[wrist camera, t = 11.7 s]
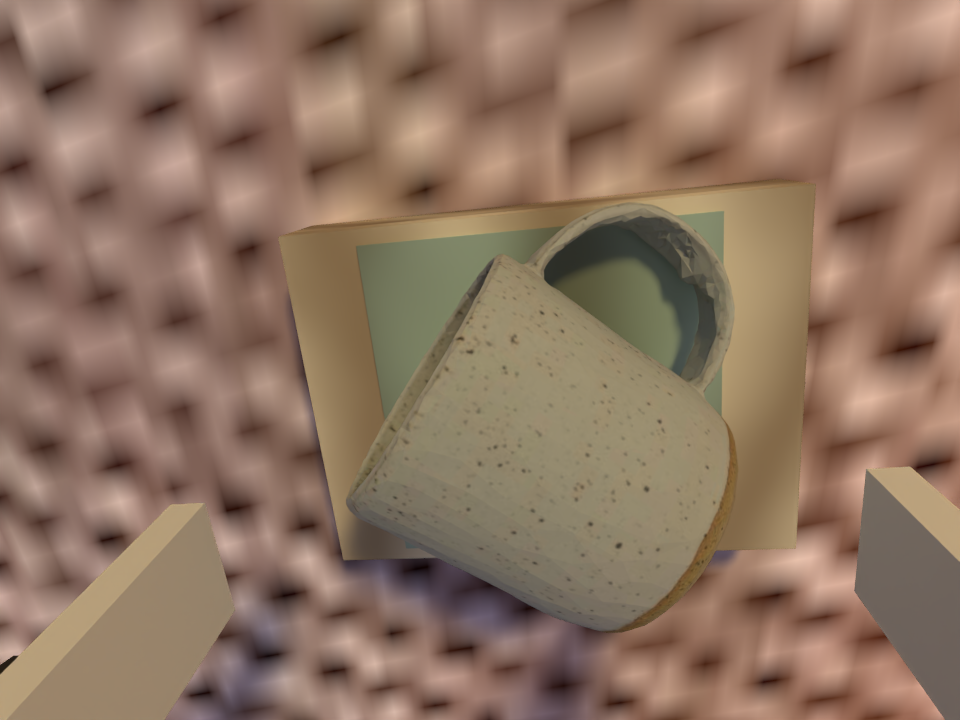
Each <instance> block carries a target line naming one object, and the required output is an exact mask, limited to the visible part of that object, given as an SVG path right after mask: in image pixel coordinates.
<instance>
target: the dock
mask: <svg viewBox="0 0 960 720" xmlns="http://www.w3.org/2000/svg"><path fill="white" fill-rule="evenodd" d="M815 189H816V184H812V183H805V182H798V181H790V180H783V179H775V180H765V181H755V182H745V183H735V184H725V185H715V186H705V187H695V188H685V189H675V190H665V191H655V192H645V193H635V194H625V195H615V196H605V197H595V198H585V199H575V200H565V201H555V202H545V203H535V204H525V205H515V206H505V207H495V208H485V209H475V210H465V211H455V212H445V213H435V214H425V215H415V216H405V217H395V218H386V219H376V220H366V221H356V222H346V223H336V224H326V225H316V226H310V227H307V228H304V229H301V230H298V231H295V232H292V233H289V234H286V235H283V236H280V237H278V239H279V244H280V249H281V254H282V259H283V264H284V269H285V273H286V278H287V283H288V288H289V293H290V298H291V303H292V308H293V313H294V318H295V323H296V328H297V333H298V338H299V343H300V348H301V353H302V358H303V363H304V368H305V372H306V377H307V382H308V387H309V392H310V397H311V402H312V407H313V412H314V417H315V422H316V427H317V432H318V437H319V442H320V447H321V452H322V457H323V462H324V467H325V472H326V476H327V481H328V486H329V491H330V496H331V501H332V506H333V511H334V516H335V521H336V526H337V531H338V536H339V541H340V546H341V551H342V556H343V560H373V559H411V558H437V557H435V556H433V555H431V554H429V553H427V552H425V551H423V550H421V549H419V548H418V547H416V546H414V545H412V544H410V543H408V542H406V541H404V540H402V539H400V538H398V537H396V536H394V535H393V534H391V533H389V532H387V531H384V530H382V529H380V528H378V527H376V526H374V525H372V524H370V523H367V522H365V521H363V520H361V519H359V518H357V517H356V516H355V515H354V514H353V513H352V512H351V511H350V510H349V508H348V507H347V505H346V498H347V496H348V494H349V491H350V488H351V486H352V484H353V482H354V480H355V478H356V475H357V473H358V471H359V469H360V467H361V466H362V463H363V460H364V459H365V458H366V456H367V454H368V451H369V449H370V447H371V445H372V444H373V442H374V441H375V439H376V437H377V435H378V433H379V431H380V429H381V426H382V425H383V423H384V421H385V420H386V418H387V417H388V415H389V414H390V412H391V410H392V408H393V407H394V405H395V403H396V401H397V400H398V398H399V396H400V395H401V393H402V392H403V390H404V389H405V387H406V385H407V383H408V382H409V380H410V378H411V377H412V375H413V373H414V371H415V370H416V369H417V367H418V366H419V364H420V362H421V360H422V358H423V357H424V355H425V354H426V353H427V351H428V350H429V348H430V346H431V345H432V343H433V342H434V340H435V338H436V337H437V335H438V334H439V332H440V330H441V329H442V327H443V326H444V324H445V323H446V321H447V320H448V319H449V318H450V316H451V315H452V313H453V312H454V310H455V309H456V307H457V306H458V304H459V302H460V300H461V299H462V297H463V296H464V294H465V293H466V292H467V290H468V289H469V288H470V286H471V285H472V283H473V282H474V281H475V280H476V278H477V277H478V275H479V274H480V272H481V271H482V270H483V269H484V268H485V267H486V265H487V264H488V262H490V261H491V260H492V259H493V258H494V257H495V256H496V255H500V254H504V255H507V256H510V257H511V258H513V259H514V260H516V261H517V262H519V263H520V264H525V263H526V262H527V260H528V259H529V258H530V257H531V255H532V254H534V253H535V252H536V251H537V250H538V249H539V248H540V247H541V246H542V245H544V244H545V243H546V242H547V241H548V240H549V239H550V238H551V237H553V236H554V235H555V234H556V233H557V232H559V231H560V230H561V229H563V228H564V227H565V226H567V225H568V224H569V223H570V222H572V221H573V220H575V219H577V218H579V217H581V216H583V215H585V214H587V213H589V212H591V211H593V210H596V209H599V208H603V207H606V206H610V205H615V204H620V203H627V202H632V203H643V204H651V205H655V206H658V207H660V208H662V209H664V210H666V211H668V212H670V213H672V214H674V215H676V216H678V217H679V218H681V219H682V220H683V221H684V222H686V223H687V224H688V225H689V226H691V227H692V228H693V229H694V230H696V231H697V232H698V233H699V234H700V235H701V236H702V237H703V238H704V239H705V240H706V241H707V242H708V243H709V245H710V246H711V247H712V249H713V250H714V251H715V253H716V254H717V256H718V257H719V259H720V261H721V262H722V264H723V265H724V268H725V270H726V273H727V276H728V279H729V282H730V285H731V290H732V295H733V301H734V307H735V314H734V323H733V329H732V335H731V341H730V345H729V347H728V350H727V352H726V354H725V357H724V360H723V364H722V366H721V367H720V369H719V370H718V372H717V373H716V376H715V378H714V380H713V381H712V383H711V384H710V385H709V386H708V387H707V388H706V390H705V393H704V395H705V399H706V401H707V402H708V403H709V404H710V405H711V406H712V407H713V408H714V409H715V410H716V411H717V412H718V413H719V414H720V416H721V417H722V418H723V419H724V420H725V421H726V423H727V424H728V426H729V428H730V430H731V431H732V434H733V437H734V440H735V446H736V453H737V460H738V468H739V470H738V479H737V488H736V498H735V503H734V507H733V510H732V513H731V517H730V520H729V523H728V525H727V528H726V530H725V532H724V535H723V537H722V539H721V541H720V543H719V545H718V547H717V549H716V551H718V550H757V549H795V548H796V536H797V518H798V499H799V481H800V463H801V445H802V426H803V408H804V390H805V372H806V353H807V335H808V317H809V299H810V280H811V262H812V244H813V226H814V207H815ZM544 280H545V281H546V282H547V283H548V284H549V285H550V286H552V287H554V288H555V289H557V290H559V291H560V292H562V293H563V294H564V295H565V296H567V297H568V298H569V299H571V300H572V301H574V302H575V303H576V304H578V305H579V306H580V307H582V308H583V309H584V310H585V311H587V312H588V313H590V314H591V315H592V316H594V317H595V318H596V319H598V320H599V321H601V322H602V323H604V324H605V325H606V326H607V327H609V328H610V329H611V330H613V331H614V332H615V333H617V334H618V335H619V336H621V337H622V338H623V339H625V340H626V341H627V342H628V343H630V344H631V345H633V346H634V347H636V348H637V349H638V350H640V351H641V352H643V353H645V354H647V355H648V356H650V357H652V358H653V359H655V360H656V361H658V362H659V363H661V364H663V365H664V366H665V367H667V368H668V369H670V370H671V371H673V372H674V373H675V374H677V375H678V376H679V375H680V374H681V372H682V370H683V368H684V366H685V365H686V362H687V360H688V357H689V355H690V352H691V350H692V348H693V346H694V339H695V335H696V332H697V330H698V323H699V311H698V300H697V295H696V292H695V289H694V286H693V284H687V283H685V282H683V281H682V280H680V278H679V276H678V273H677V271H676V269H675V268H674V267H673V266H672V265H671V264H670V263H669V262H668V260H667V259H666V258H665V257H664V256H662V255H661V254H660V253H658V252H657V251H656V250H655V249H653V248H652V247H651V246H650V245H649V244H647V243H646V242H645V241H644V240H643V239H641V238H640V237H639V236H638V235H637V234H635V233H634V232H632V231H631V230H627V229H622V228H620V227H618V226H615V225H610V226H601V227H597V228H594V229H592V230H588V231H586V232H585V233H583V234H582V235H581V236H579V237H578V238H576V239H575V240H573V241H572V242H571V243H569V244H568V245H566V246H565V247H564V248H563V249H562V250H560V251H559V252H558V253H557V254H556V255H555V256H554V257H553V258H552V259H551V260H550V261H549V262H548V264H547V265H546V267H545V269H544Z"/></svg>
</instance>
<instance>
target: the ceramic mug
mask: <svg viewBox="0 0 960 720" xmlns="http://www.w3.org/2000/svg"><path fill="white" fill-rule="evenodd" d="M610 225H615V226H618V227H620V228H622V229H627V230H631V231H632V232H634V233H635V234H637V235H638V236H639V237H640V238H641V239H643V240H644V241H645V242H646V243H647V244H649V245H650V246H651V247H652V248H653V249H655V250H656V251H657V252H658V253H660V254H661V255H662V256H664V257H665V258H666V259H667V260H668V262H669V263H670V264H671V265H672V266H673V267H674V268H675V269H676V271H677V273H678V276H679V278H680V280H682V281H683V282H685V283H687V284H693V286H694V289H695V292H696V295H697V300H698V311H699V323H698V330H697V332H696V335H695V339H694V346H693V348H692V350H691V352H690V355H689V357H688V360H687V362H686V365H685V366H684V368H683V370H682V372H681V374H680V375H679V376H678V375H677V374H675V373H674V372H673V371H671V370H670V369H668V368H667V367H665V366H664V365H663V364H661V363H659V362H658V361H656V360H655V359H653V358H652V357H650V356H648V355H647V354H645V353H643V352H641V351H640V350H638V349H637V348H636V347H634V346H633V345H631V344H630V343H628V342H627V341H626V340H625V339H623V338H622V337H621V336H619V335H618V334H617V333H615V332H614V331H613V330H611V329H610V328H609V327H607V326H606V325H605V324H604V323H602V322H601V321H599V320H598V319H596V318H595V317H594V316H592V315H591V314H590V313H588V312H587V311H585V310H584V309H583V308H582V307H580V306H579V305H578V304H576V303H575V302H574V301H572V300H571V299H569V298H568V297H567V296H565V295H564V294H563V293H562V292H560V291H559V290H557V289H555V288H554V287H552V286H550V285H549V284H548V283H547V282H546V281H545V280H544V269H545V267H546V265H547V264H548V262H549V261H550V260H551V259H552V258H553V257H554V256H555V255H556V254H557V253H558V252H559V251H560V250H562V249H563V248H564V247H565V246H566V245H568V244H569V243H571V242H572V241H573V240H575V239H576V238H578V237H579V236H581V235H582V234H583V233H585V232H586V231H588V230H592V229H594V228H597V227H601V226H610ZM734 314H735V307H734V301H733V295H732V290H731V285H730V282H729V279H728V276H727V273H726V270H725V268H724V265H723V264H722V262H721V261H720V259H719V257H718V256H717V254H716V253H715V251H714V250H713V249H712V247H711V246H710V245H709V243H708V242H707V241H706V240H705V239H704V238H703V237H702V236H701V235H700V234H699V233H698V232H697V231H696V230H694V229H693V228H692V227H691V226H689V225H688V224H687V223H686V222H684V221H683V220H682V219H681V218H679V217H678V216H676V215H674V214H672V213H670V212H668V211H666V210H664V209H662V208H660V207H658V206H655V205H651V204H643V203H632V202H627V203H620V204H615V205H610V206H606V207H603V208H599V209H596V210H593V211H591V212H589V213H587V214H585V215H583V216H581V217H579V218H577V219H575V220H573V221H572V222H570V223H569V224H568V225H567V226H565V227H564V228H563V229H561V230H560V231H559V232H557V233H556V234H555V235H554V236H553V237H551V238H550V239H549V240H548V241H547V242H546V243H545V244H544V245H542V246H541V247H540V248H539V249H538V250H537V251H536V252H535V253H534V254H532V255H531V257H530V258H529V259H528V260H527V262H526V263H525V264H520V263H519V262H517V261H516V260H514V259H513V258H511V257H510V256H507V255H504V254H500V255H496V256H495V257H494V258H493V259H492V260H491V261H490V262H488V264H487V265H486V267H485V268H484V269H483V270H482V271H481V272H480V274H479V275H478V277H477V278H476V280H475V281H474V282H473V283H472V285H471V286H470V288H469V289H468V290H467V292H466V293H465V294H464V296H463V297H462V299H461V300H460V302H459V304H458V306H457V307H456V309H455V310H454V312H453V313H452V315H451V316H450V318H449V319H448V320H447V321H446V323H445V324H444V326H443V327H442V329H441V330H440V332H439V334H438V335H437V337H436V338H435V340H434V342H433V343H432V345H431V346H430V348H429V350H428V351H427V353H426V354H425V355H424V357H423V358H422V360H421V362H420V364H419V366H418V367H417V369H416V370H415V371H414V373H413V375H412V377H411V378H410V380H409V382H408V383H407V385H406V387H405V389H404V390H403V392H402V393H401V395H400V396H399V398H398V400H397V401H396V403H395V405H394V407H393V408H392V410H391V412H390V414H389V415H388V417H387V418H386V420H385V421H384V423H383V425H382V426H381V429H380V431H379V433H378V435H377V437H376V439H375V441H374V442H373V444H372V445H371V447H370V449H369V451H368V454H367V456H366V458H365V459H364V460H363V463H362V466H361V467H360V469H359V471H358V473H357V475H356V478H355V480H354V482H353V484H352V486H351V488H350V491H349V494H348V496H347V498H346V505H347V507H348V508H349V510H350V511H351V512H352V513H353V514H354V515H355V516H356V517H357V518H359V519H361V520H363V521H365V522H367V523H370V524H372V525H374V526H376V527H378V528H380V529H382V530H384V531H387V532H389V533H391V534H393V535H394V536H396V537H398V538H400V539H402V540H404V541H406V542H408V543H410V544H412V545H414V546H416V547H418V548H419V549H421V550H423V551H425V552H427V553H429V554H431V555H433V556H435V557H437V558H439V559H441V560H443V561H444V562H446V563H448V564H450V565H452V566H455V567H457V568H459V569H461V570H463V571H465V572H467V573H469V574H471V575H473V576H475V577H477V578H479V579H482V580H484V581H486V582H488V583H490V584H492V585H494V586H495V587H497V588H499V589H501V590H503V591H505V592H507V593H509V594H511V595H512V596H514V597H516V598H517V599H519V600H521V601H523V602H525V603H526V604H528V605H530V606H532V607H534V608H536V609H538V610H540V611H542V612H544V613H546V614H548V615H551V616H553V617H555V618H557V619H560V620H563V621H567V622H570V623H573V624H577V625H580V626H583V627H587V628H590V629H594V630H598V631H602V632H606V633H611V632H624V631H628V630H632V629H635V628H638V627H641V626H644V625H646V624H648V623H650V622H652V621H653V620H655V619H656V618H658V617H659V616H660V615H662V614H663V613H664V612H666V611H667V610H668V609H669V608H670V607H672V606H673V605H674V604H675V603H676V602H678V601H679V600H680V599H681V598H682V597H683V596H684V595H685V594H686V593H687V592H688V590H689V589H690V588H691V587H692V585H693V584H694V583H695V582H696V581H697V579H698V578H699V577H700V576H701V574H702V573H703V571H704V570H705V568H706V567H707V565H708V564H709V562H710V561H711V559H712V557H713V555H714V553H715V551H716V549H717V547H718V545H719V543H720V541H721V539H722V537H723V535H724V532H725V530H726V528H727V525H728V523H729V520H730V517H731V513H732V510H733V507H734V503H735V498H736V488H737V479H738V470H739V468H738V460H737V453H736V446H735V440H734V437H733V434H732V431H731V430H730V428H729V426H728V424H727V423H726V421H725V420H724V419H723V418H722V417H721V416H720V414H719V413H718V412H717V411H716V410H715V409H714V408H713V407H712V406H711V405H710V404H709V403H708V402H707V401H706V399H705V395H704V393H705V390H706V388H707V387H708V386H709V385H710V384H711V383H712V381H713V380H714V378H715V376H716V373H717V372H718V370H719V369H720V367H721V366H722V364H723V360H724V357H725V354H726V352H727V350H728V347H729V345H730V341H731V335H732V329H733V323H734Z"/></svg>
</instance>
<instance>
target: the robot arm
mask: <svg viewBox="0 0 960 720" xmlns="http://www.w3.org/2000/svg"><path fill="white" fill-rule="evenodd" d="M854 591H855V593H856V594H857V595H858V597H859V598H860V600H861V601H862V602H863V604H864V605H865V607H866V608H867V610H868V611H869V612H870V614H871V615H872V617H873V618H874V619H875V621H876V622H877V624H878V625H879V627H880V628H881V629H882V631H883V632H884V634H885V635H886V636H887V638H888V639H889V641H890V642H891V644H892V645H893V646H894V648H895V649H896V651H897V652H898V653H899V655H900V656H901V658H902V659H903V660H904V662H905V663H906V665H907V666H908V668H909V669H910V670H911V672H912V673H913V675H914V676H915V677H916V679H917V680H918V682H919V683H920V685H921V686H922V687H923V689H924V690H925V692H926V693H927V694H928V696H929V697H930V699H931V700H932V702H933V703H934V704H935V706H936V707H937V709H938V710H939V711H940V713H941V714H942V716H943V717H944V719H945V720H960V510H959V509H958V508H957V507H956V506H955V505H953V504H952V503H951V502H950V501H949V500H948V499H947V498H945V497H944V496H943V495H942V494H941V493H940V492H939V491H937V490H936V489H935V488H934V487H933V486H932V485H930V484H929V483H928V482H927V481H926V480H925V479H924V478H922V477H921V476H920V475H919V474H918V473H917V472H916V471H914V470H913V469H912V468H911V467H896V468H876V469H866V477H865V488H864V498H863V508H862V519H861V529H860V539H859V549H858V560H857V570H856V580H855V590H854ZM234 611H235V608H234V605H233V601H232V597H231V594H230V590H229V587H228V583H227V580H226V576H225V572H224V569H223V565H222V562H221V558H220V555H219V551H218V548H217V544H216V540H215V537H214V533H213V530H212V526H211V523H210V519H209V515H208V512H207V508H206V505H205V503H193V504H174V505H170V506H169V507H168V508H167V509H166V510H165V511H164V512H163V513H162V514H161V515H160V516H159V517H158V518H157V519H156V520H155V521H154V522H153V523H152V524H151V525H150V526H149V527H148V528H147V529H146V530H145V531H144V532H143V533H142V534H141V535H140V536H139V537H138V538H137V539H136V540H135V541H134V542H133V543H132V544H131V545H130V546H129V547H128V548H127V549H126V550H125V551H124V552H123V553H122V554H121V555H120V556H119V557H118V558H117V559H116V560H115V561H114V562H113V563H112V564H111V565H110V566H109V567H108V568H107V569H106V570H105V571H104V572H103V573H102V574H101V575H100V576H99V577H98V578H97V579H96V580H95V581H94V582H93V583H92V584H91V585H90V586H89V587H88V588H87V589H86V590H85V591H84V592H83V593H82V594H81V595H80V596H79V597H78V598H77V599H76V600H75V601H74V602H73V603H72V604H71V605H70V606H69V607H68V608H67V609H66V610H65V611H64V612H63V613H62V614H61V615H60V616H59V617H58V618H57V619H56V620H55V621H54V622H53V623H52V624H50V625H49V626H48V627H47V628H46V629H45V630H44V631H43V632H42V633H41V634H40V635H39V636H38V637H37V638H36V639H35V640H34V641H33V642H32V643H31V644H30V645H29V646H28V647H27V648H26V649H25V650H24V651H23V652H22V653H21V654H20V655H19V656H13V657H11V658H10V659H8V660H7V661H5V662H4V663H2V664H1V665H0V720H165V718H166V717H167V715H168V714H169V712H170V710H171V709H172V707H173V706H174V704H175V703H176V701H177V700H178V698H179V696H180V695H181V693H182V692H183V690H184V689H185V687H186V686H187V684H188V682H189V681H190V679H191V678H192V676H193V675H194V673H195V672H196V670H197V668H198V667H199V665H200V664H201V662H202V661H203V659H204V658H205V656H206V654H207V653H208V651H209V650H210V648H211V647H212V645H213V644H214V642H215V640H216V639H217V637H218V636H219V634H220V633H221V631H222V630H223V628H224V626H225V625H226V623H227V622H228V620H229V619H230V617H231V615H232V614H233V612H234Z"/></svg>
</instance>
